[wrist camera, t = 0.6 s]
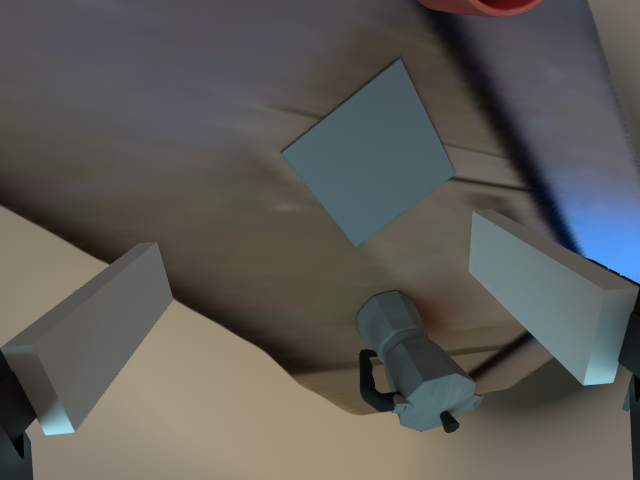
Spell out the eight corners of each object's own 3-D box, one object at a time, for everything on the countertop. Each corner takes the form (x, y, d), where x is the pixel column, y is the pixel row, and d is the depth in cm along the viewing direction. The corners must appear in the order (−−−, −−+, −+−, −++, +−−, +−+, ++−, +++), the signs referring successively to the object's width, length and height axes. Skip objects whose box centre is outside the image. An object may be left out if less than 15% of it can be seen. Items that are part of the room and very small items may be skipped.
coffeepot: (434, 293, 50) (525, 397, 34) (410, 341, 54) (482, 454, 38) (339, 282, 45) (395, 398, 30) (320, 336, 49) (361, 464, 33)
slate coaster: (280, 152, 35) (281, 153, 35) (397, 58, 34) (400, 58, 33) (354, 245, 43) (355, 247, 42) (452, 172, 41) (455, 173, 41)
